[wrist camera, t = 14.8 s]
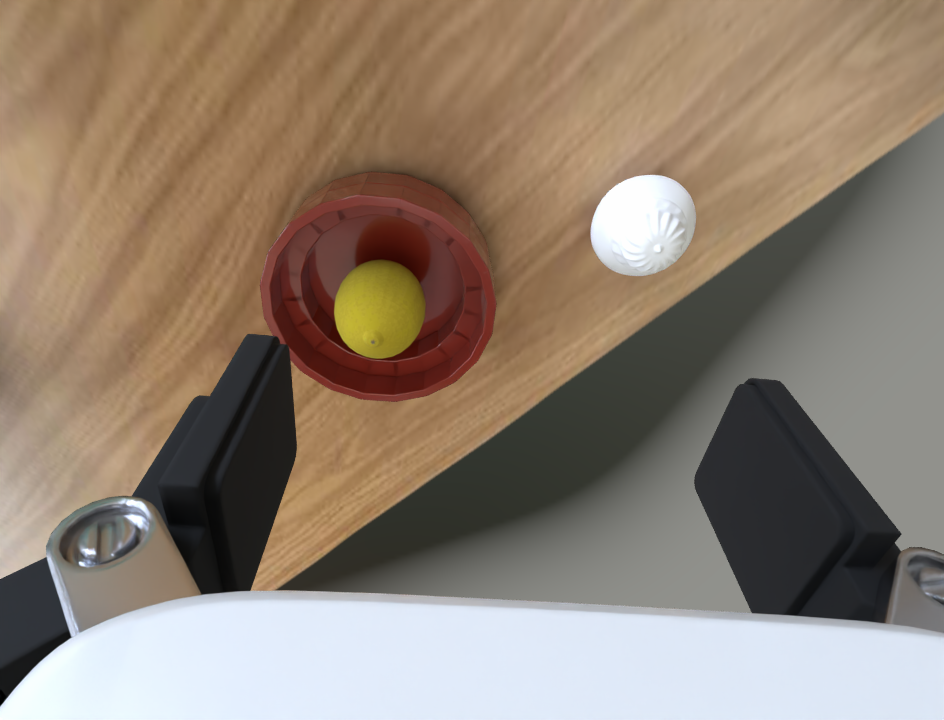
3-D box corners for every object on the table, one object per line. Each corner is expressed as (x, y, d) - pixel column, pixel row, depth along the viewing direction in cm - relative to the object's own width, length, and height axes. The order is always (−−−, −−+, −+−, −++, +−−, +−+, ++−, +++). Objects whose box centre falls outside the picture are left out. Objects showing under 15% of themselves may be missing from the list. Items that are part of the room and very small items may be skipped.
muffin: (694, 210, 37) (738, 254, 31) (615, 269, 39) (643, 320, 33) (642, 136, 34) (679, 169, 28) (561, 204, 36) (580, 248, 30)
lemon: (418, 322, 40) (410, 390, 34) (340, 304, 39) (316, 370, 33) (437, 252, 37) (432, 312, 31) (353, 231, 36) (330, 287, 30)
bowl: (417, 124, 33) (411, 145, 29) (527, 306, 40) (534, 344, 36) (237, 240, 37) (209, 273, 33) (366, 388, 44) (356, 430, 40)
